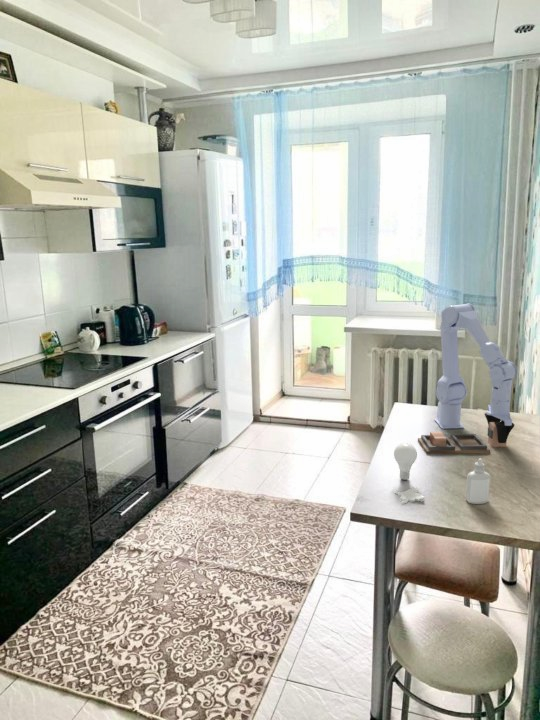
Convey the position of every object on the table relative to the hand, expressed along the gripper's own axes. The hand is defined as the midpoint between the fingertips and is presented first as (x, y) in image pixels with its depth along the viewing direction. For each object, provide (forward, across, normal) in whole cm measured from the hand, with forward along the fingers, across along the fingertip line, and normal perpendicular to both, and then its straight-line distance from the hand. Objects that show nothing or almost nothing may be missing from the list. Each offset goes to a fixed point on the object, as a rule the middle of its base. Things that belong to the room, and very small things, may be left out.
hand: (497, 438), depth 175 cm
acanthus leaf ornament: (+3, +34, -37) cm, 50 cm away
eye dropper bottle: (+2, +37, -20) cm, 42 cm away
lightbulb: (+2, +24, -36) cm, 43 cm away
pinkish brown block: (+2, 0, 0) cm, 2 cm away
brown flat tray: (+2, +2, -15) cm, 15 cm away
